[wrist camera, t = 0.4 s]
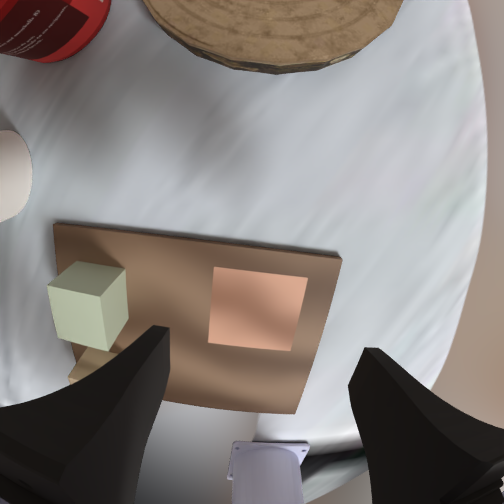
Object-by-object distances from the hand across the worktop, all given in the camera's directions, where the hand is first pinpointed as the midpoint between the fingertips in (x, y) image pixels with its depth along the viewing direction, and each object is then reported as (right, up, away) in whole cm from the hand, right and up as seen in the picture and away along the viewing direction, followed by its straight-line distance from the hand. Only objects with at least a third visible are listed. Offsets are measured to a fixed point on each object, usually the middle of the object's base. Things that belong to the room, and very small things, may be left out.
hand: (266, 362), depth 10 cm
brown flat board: (-6, -2, +11) cm, 12 cm away
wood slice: (+1, +22, +3) cm, 22 cm away
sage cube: (-11, +1, +9) cm, 14 cm away
